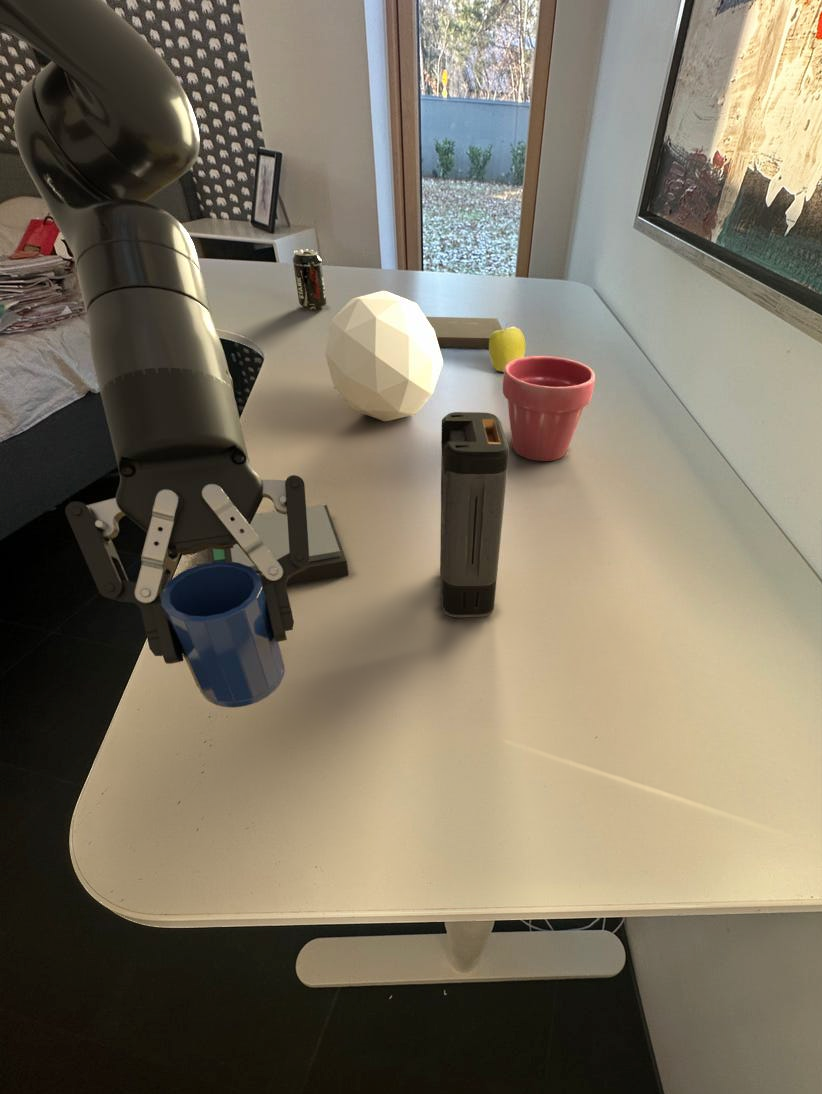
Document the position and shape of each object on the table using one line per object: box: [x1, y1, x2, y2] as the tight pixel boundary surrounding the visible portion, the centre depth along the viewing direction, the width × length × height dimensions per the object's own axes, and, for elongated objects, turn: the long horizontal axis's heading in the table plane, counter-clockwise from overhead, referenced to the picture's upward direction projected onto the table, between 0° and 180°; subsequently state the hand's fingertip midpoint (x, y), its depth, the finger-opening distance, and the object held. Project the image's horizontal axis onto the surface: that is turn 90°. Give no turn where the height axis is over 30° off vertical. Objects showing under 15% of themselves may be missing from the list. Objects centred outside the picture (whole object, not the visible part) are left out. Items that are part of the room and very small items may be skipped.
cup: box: [161, 561, 286, 708], centre depth 38 cm, size 6×6×8 cm
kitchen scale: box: [208, 503, 349, 587], centre depth 70 cm, size 15×13×3 cm
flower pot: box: [502, 355, 596, 462], centre depth 91 cm, size 14×14×13 cm
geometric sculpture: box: [325, 290, 444, 422], centre depth 96 cm, size 19×20×20 cm
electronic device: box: [439, 411, 510, 618], centre depth 61 cm, size 9×6×20 cm, turn 6°
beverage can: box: [292, 249, 327, 311], centre depth 142 cm, size 7×7×12 cm
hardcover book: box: [425, 316, 503, 350], centre depth 134 cm, size 16×23×2 cm
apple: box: [488, 324, 526, 373], centre depth 119 cm, size 8×8×10 cm
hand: (229, 650), depth 36 cm, fingers closed on cup, 6 cm apart
